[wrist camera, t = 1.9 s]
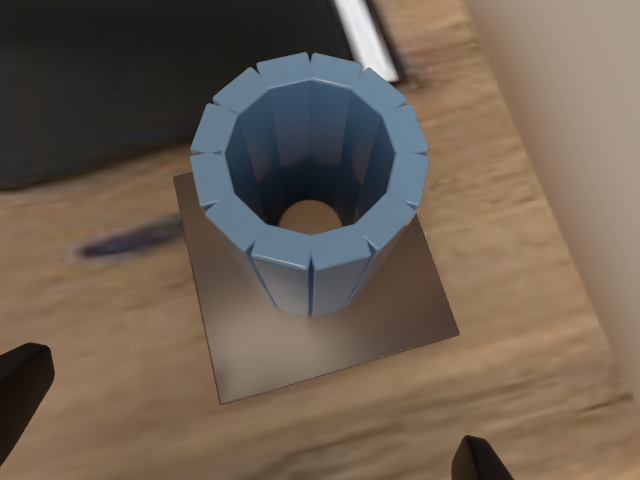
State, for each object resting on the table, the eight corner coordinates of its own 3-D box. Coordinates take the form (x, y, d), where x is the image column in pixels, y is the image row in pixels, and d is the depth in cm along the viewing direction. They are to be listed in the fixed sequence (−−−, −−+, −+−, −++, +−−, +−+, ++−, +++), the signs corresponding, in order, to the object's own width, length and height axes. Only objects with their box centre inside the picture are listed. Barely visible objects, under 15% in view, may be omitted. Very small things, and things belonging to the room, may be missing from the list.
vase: (390, 296, 20) (462, 231, 11) (263, 332, 20) (219, 296, 10) (352, 179, 22) (385, 33, 12) (233, 209, 21) (171, 80, 12)
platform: (444, 338, 22) (490, 327, 17) (230, 401, 21) (200, 413, 16) (377, 148, 25) (397, 83, 20) (186, 195, 24) (147, 141, 18)
